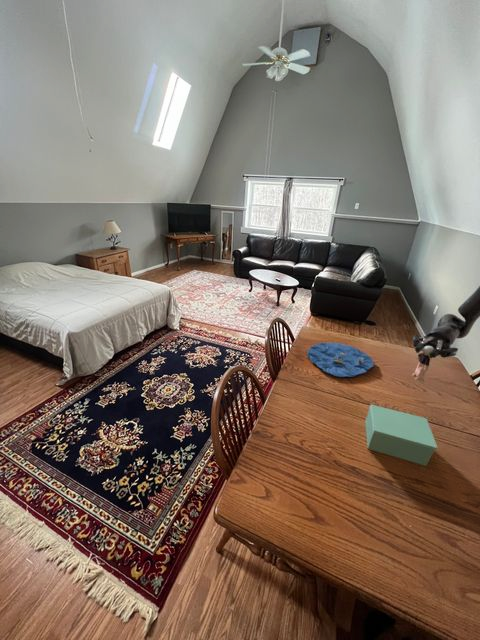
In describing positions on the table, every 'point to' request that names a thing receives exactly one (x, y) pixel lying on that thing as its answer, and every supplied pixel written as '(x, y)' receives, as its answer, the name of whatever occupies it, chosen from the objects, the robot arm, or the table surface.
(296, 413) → the table surface
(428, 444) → the lunchbox lid
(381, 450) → the block
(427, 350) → the grandmother figurine
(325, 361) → the blue sea diorama
